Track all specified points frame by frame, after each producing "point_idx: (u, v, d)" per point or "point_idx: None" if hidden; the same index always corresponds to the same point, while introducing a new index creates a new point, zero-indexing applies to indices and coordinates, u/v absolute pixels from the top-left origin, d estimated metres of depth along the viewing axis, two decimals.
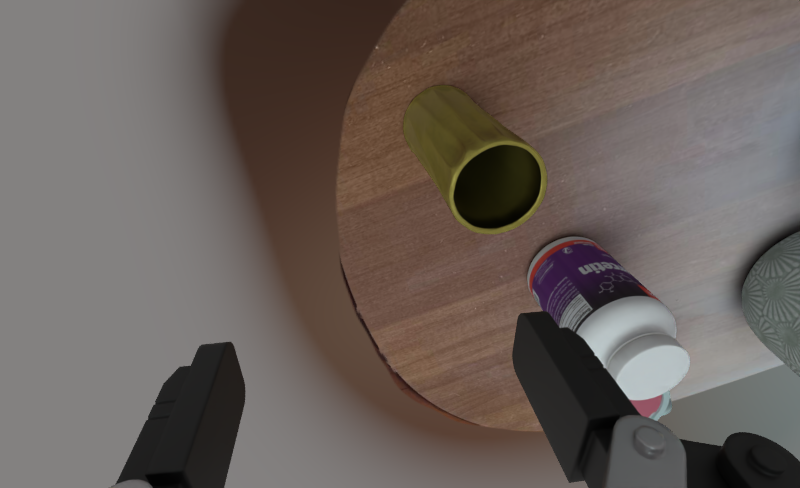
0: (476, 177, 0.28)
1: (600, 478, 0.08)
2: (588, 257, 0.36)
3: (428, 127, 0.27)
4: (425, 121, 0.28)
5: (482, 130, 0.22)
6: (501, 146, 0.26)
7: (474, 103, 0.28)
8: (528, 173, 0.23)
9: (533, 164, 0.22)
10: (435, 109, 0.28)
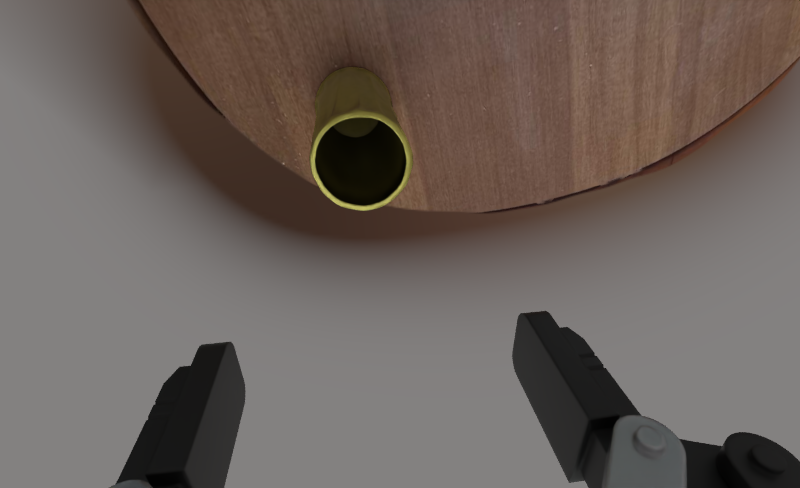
0: None
1: (600, 477, 0.08)
2: None
3: None
4: None
5: None
6: None
7: (319, 101, 0.28)
8: None
9: None
10: None
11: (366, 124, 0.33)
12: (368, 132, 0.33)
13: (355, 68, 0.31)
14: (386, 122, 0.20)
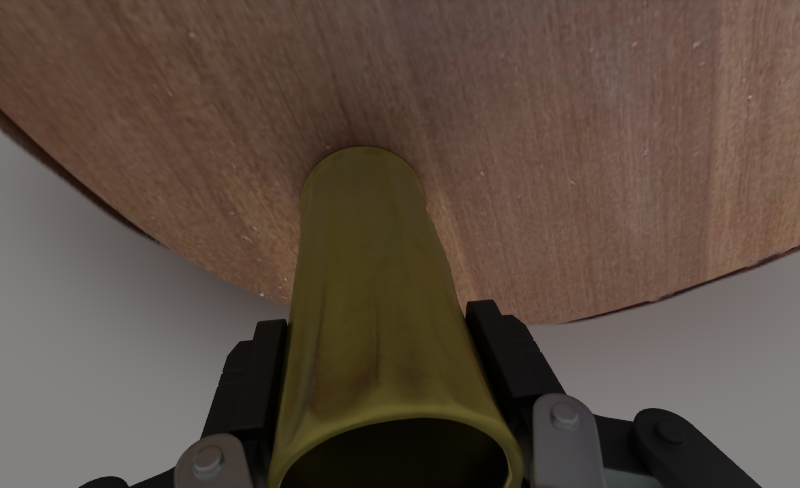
0: None
1: (524, 452, 0.09)
2: None
3: None
4: None
5: None
6: None
7: (300, 233, 0.15)
8: None
9: (342, 385, 0.08)
10: None
11: None
12: None
13: (360, 149, 0.19)
14: (460, 420, 0.07)
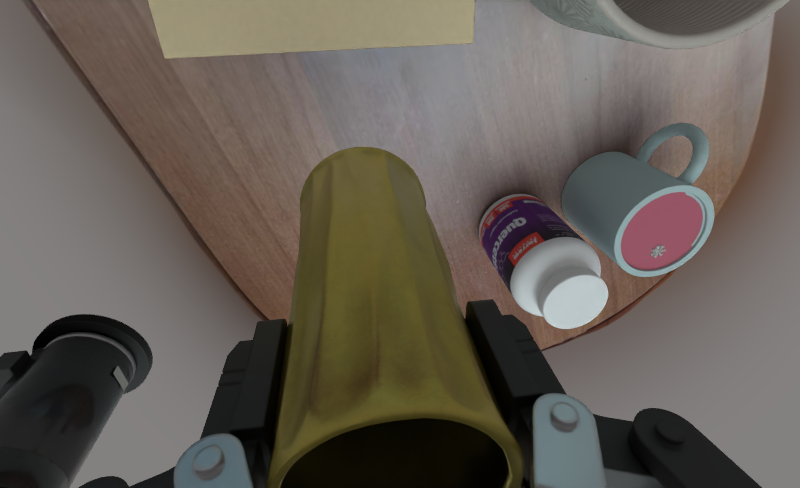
0: None
1: (524, 452, 0.09)
2: (489, 252, 0.42)
3: None
4: None
5: None
6: None
7: (300, 234, 0.15)
8: None
9: (342, 386, 0.08)
10: None
11: None
12: None
13: (360, 149, 0.19)
14: (459, 420, 0.07)
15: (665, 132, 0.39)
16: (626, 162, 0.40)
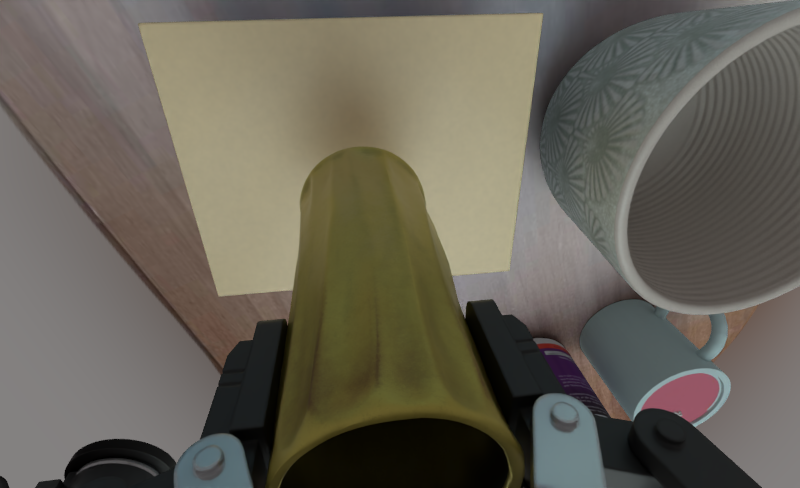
0: None
1: (524, 452, 0.09)
2: None
3: None
4: None
5: None
6: None
7: (300, 233, 0.15)
8: None
9: (342, 386, 0.08)
10: None
11: None
12: None
13: (360, 149, 0.19)
14: (460, 420, 0.07)
15: None
16: (645, 322, 0.41)
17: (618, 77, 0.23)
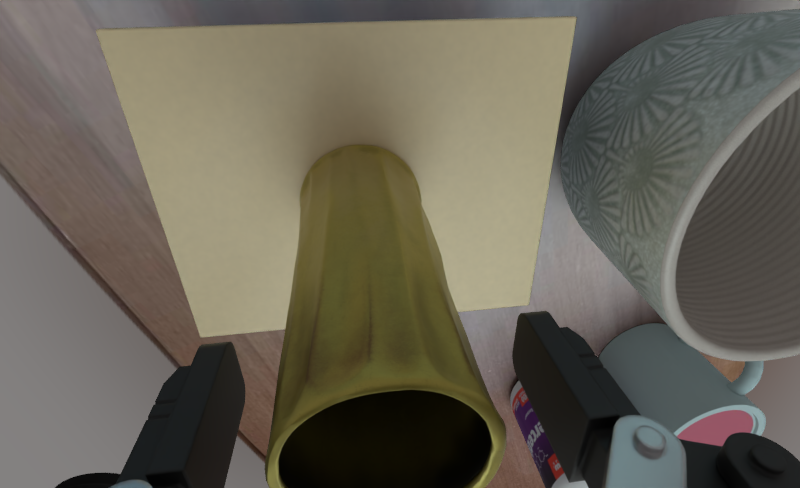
0: None
1: (599, 477, 0.08)
2: (523, 432, 0.40)
3: None
4: None
5: None
6: None
7: (299, 227, 0.16)
8: None
9: (337, 363, 0.09)
10: None
11: None
12: None
13: (358, 147, 0.19)
14: (444, 392, 0.08)
15: None
16: (670, 349, 0.38)
17: (662, 91, 0.19)
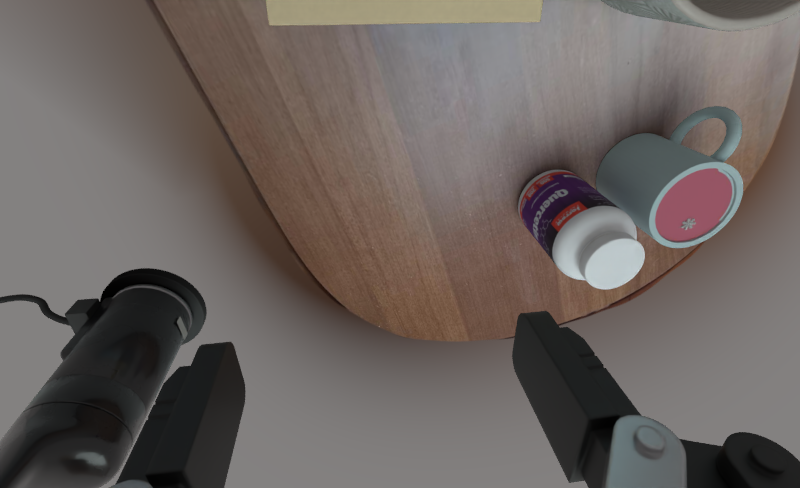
0: None
1: (600, 477, 0.08)
2: (530, 222, 0.45)
3: None
4: None
5: None
6: None
7: None
8: None
9: None
10: None
11: None
12: None
13: None
14: None
15: (700, 114, 0.42)
16: (662, 142, 0.43)
17: None
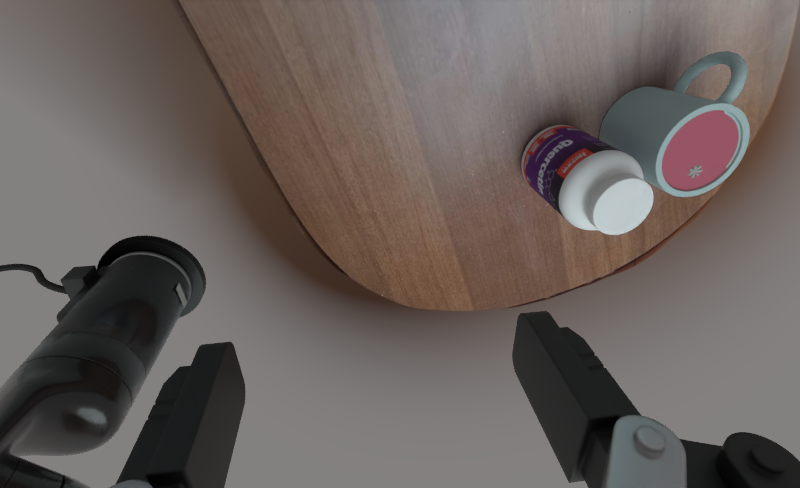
0: None
1: (600, 478, 0.08)
2: (534, 176, 0.44)
3: None
4: None
5: None
6: None
7: None
8: None
9: None
10: None
11: None
12: None
13: None
14: None
15: (703, 62, 0.42)
16: (665, 92, 0.43)
17: None
